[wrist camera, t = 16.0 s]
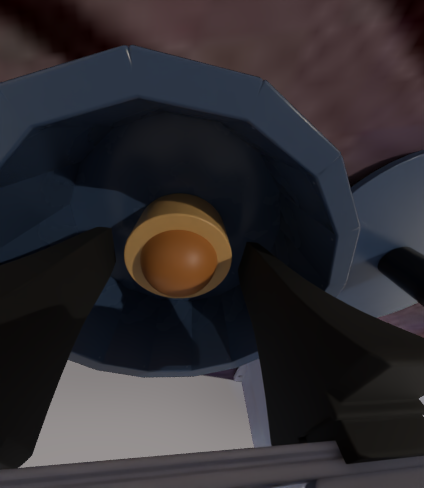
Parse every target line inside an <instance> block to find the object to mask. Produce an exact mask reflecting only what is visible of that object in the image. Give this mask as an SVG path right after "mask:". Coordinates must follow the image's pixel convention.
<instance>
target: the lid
mask: <svg viewBox="0 0 424 488" xmlns="http://www.w3.org/2000/svg"><path fill="white" fill-rule="evenodd" d="M351 191H352V195H353V199H354V203H355V207H356V210H357V214H358V218H359V222H360V233H359V237H358V241H357V245H356V249H355V252H354V256H353V260H352V264H351V268H350V272H349V276H348V280H347V283H346V285H345V286H344V288H343V289H342V290H341V292H340V293H339V294H338V295H337V297H336V298H337V299H339V300H341V301H343V302H345V303H347V304H348V305H350V306H352V307H354V308H356V309H358V310H360V311H362V312H365V313H367V314H369V315H371V316H373V317H375V318H377V317H381V316H384V315H387V314H391V313H393V312H396V311H399V310H402V309H404V308H406V307H409V306H411V305H413V304H415V303H417V302H419V303H420V304H421V305H422V306H424V150H421V151H418V152H415V153H412V154H409V155H407V156H405V157H402V158H400V159H398V160H395V161H393V162H391V163H389V164H387V165H385V166H384V167H382V168H380V169H378V170H376V171H374V172H373V173H371V174H370V175H368V176H367V177H365V178H364V179H362V180H361V181H359V182H357V183H356V184H355V185H353V186H352V187H351Z"/></svg>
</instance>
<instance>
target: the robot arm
mask: <svg viewBox="0 0 424 488" xmlns="http://www.w3.org/2000/svg"><path fill="white" fill-rule="evenodd" d="M115 263H116V256H115V249H114V241H113V234H112V228H107V227H95V228H93V229H90V230H88V231H85V232H83V233H81V234H79V235H76V236H74V237H72V238H70V239H67V240H65V241H63V242H61V243H58V244H56V245H54V246H51V247H49V248H46V249H44V250H41V251H39V252H36V253H34V254H31V255H29V256H26V257H23V258H21V259H18V260H15V261H12V262H9V263H6V264H3V265H0V488H424V417H423V415H424V405H423V404H422V402H421V401H420V400H419V399H418V398H420V397H422V396H424V338H423V337H420V336H418V335H416V334H413V333H411V332H408V331H406V330H403V329H401V328H398V327H396V326H394V325H391V324H389V323H386V322H384V321H382V320H380V319H378V318H375V317H373V316H371V315H369V314H367V313H365V312H362V311H360V310H358V309H356V308H354V307H352V306H350V305H348V304H347V303H345V302H343V301H341V300H339V299H337V298H335V297H334V296H332V295H330V294H328V293H327V292H325V291H323V290H322V289H320V288H318V287H317V286H315V285H314V284H312V283H310V282H309V281H307V280H306V279H304V278H303V277H302V276H300V275H299V274H297V273H296V272H295V271H293V270H292V269H291V268H289V267H288V266H287V265H285V264H284V263H283V262H282V261H280V260H279V259H278V258H277V257H275V256H274V255H273V254H272V253H270V252H269V251H268V250H267V249H265V248H264V247H263V246H261V245H260V244H258V243H254V242H247V243H246V246H245V249H244V252H243V255H242V259H241V262H240V265H239V268H238V275H239V281H240V286H241V290H242V293H243V297H244V300H245V303H246V306H247V309H248V313H249V316H250V319H251V322H252V326H253V330H254V334H255V339H256V344H257V349H258V355H259V359H257V360H254V361H252V362H250V363H247V364H245V365H242V366H240V367H238V369H237V371H236V373H235V375H234V381H242V386H243V391H244V397H245V402H246V407H247V413H248V418H249V423H250V429H251V434H252V440H253V444H254V448H244V449H233V450H222V451H210V452H198V453H188V454H175V455H164V456H153V457H141V458H129V459H118V460H106V461H95V462H83V463H72V464H60V465H49V466H37V467H26V468H18V467H20V466H21V465H22V464H23V463H24V462H25V461H27V460H28V458H30V457H31V456H32V454H33V451H34V448H35V445H36V442H37V439H38V436H39V434H40V431H41V428H42V425H43V423H44V420H45V417H46V414H47V411H48V409H49V406H50V403H51V401H52V398H53V395H54V393H55V390H56V388H57V385H58V382H59V380H60V377H61V375H62V372H63V370H64V367H65V365H66V362H67V360H68V358H69V355H70V353H71V351H72V348H73V346H74V344H75V342H76V339H77V337H78V335H79V333H80V330H81V328H82V326H83V324H84V322H85V320H86V318H87V317H88V315H89V313H90V311H91V310H92V308H93V306H94V304H95V303H96V301H97V299H98V298H99V296H100V294H101V292H102V291H103V289H104V287H105V285H106V283H107V282H108V280H109V278H110V276H111V273H112V271H113V268H114V265H115Z"/></svg>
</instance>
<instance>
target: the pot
mask: <svg viewBox="0 0 424 488" xmlns="http://www.w3.org/2000/svg"><path fill="white" fill-rule="evenodd" d="M176 193H183V194H190V195H194V196H197V197H200V198H202V199H204V200H205V201H207V202H208V203H210V204H211V205H212V206H213V207H214V208H215V209H216V210H217V211H218V213H219V214H220V216H221V218H222V221H223V224H224V227H225V230H226V234H227V237H228V240H229V244H230V247H231V251H232V262H231V267H230V269H229V272H228V274H227V276H226V277H225V278H224V280H223V281H222V282H221V283H220V284H219V285H218V286H217V287H215V288H214V289H212V290H211V291H209V292H207V293H205V294H202V295H199V296H196V297H191V298H168V297H163V296H160V295H157V294H154V293H152V292H150V291H148V290H146V289H145V288H143V287H142V286H140V285H139V284H138V283H137V282H136V281H135V280H134V279H133V278H132V276H131V275H130V274H129V272H128V270H127V267H126V265H125V260H124V248H125V244H126V241H127V239H128V237H129V235H130V234H131V232H132V230H133V228H134V227H135V225H136V223H137V221H138V220H139V218H140V216H141V215H142V213H143V211H144V210H145V209H146V207H147V206H148V205H149V204H150V203H152V202H153V201H154V200H156V199H158V198H160V197H162V196H165V195H169V194H176ZM95 227H107V228H112V234H113V241H114V249H115V256H116V263H115V265H114V268H113V271H112V273H111V276H110V278H109V280H108V282H107V283H106V285H105V287H104V289H103V291H102V292H101V294H100V296H99V298H98V299H97V301H96V303H95V304H94V306H93V308H92V310H91V311H90V313H89V315H88V317H87V318H86V320H85V322H84V324H83V326H82V328H81V330H80V333H79V335H78V337H77V339H76V342H75V344H74V346H73V348H72V351H71V353H70V355H69V358H68V360H70V361H73V362H76V363H79V364H81V365H84V366H87V367H89V368H92V369H95V370H99V371H106V372H112V373H118V374H125V375H131V376H138V377H144V378H145V377H189V376H190V377H191V376H199V375H204V374H209V373H214V372H219V371H224V370H229V369H234V368H237V367H240V366H242V365H245V364H247V363H250V362H252V361H254V360H257V359H259V355H258V349H257V344H256V339H255V334H254V330H253V326H252V322H251V319H250V316H249V313H248V309H247V306H246V303H245V300H244V297H243V293H242V290H241V286H240V281H239V275H238V268H239V265H240V262H241V259H242V255H243V252H244V249H245V246H246V243H247V242H254V243H258V244H260V245H261V246H263V247H264V248H265V249H267V250H268V251H269V252H270V253H272V254H273V255H274V256H275V257H277V258H278V259H279V260H280V261H282V262H283V263H284V264H285V265H287V266H288V267H289V268H291V269H292V270H293V271H295V272H296V273H297V274H299V275H300V276H302V277H303V278H304V279H306V280H307V281H309V282H310V283H312V284H314V285H315V286H317V287H318V288H320V289H322V290H323V291H325V292H327V293H328V294H330V295H332V296H334V297H335V298H336V297H337V295H338V294H339V293H340V292H341V290H342V289H343V288H344V286H345V285H346V283H347V280H348V276H349V272H350V268H351V264H352V260H353V256H354V252H355V249H356V245H357V241H358V237H359V233H360V222H359V218H358V214H357V210H356V207H355V203H354V199H353V195H352V191H351V188H350V184H349V180H348V176H347V172H346V168H345V165H344V161H343V157H342V156H341V152H340V151H339V150H338V149H337V148H336V147H335V146H334V145H333V144H332V143H331V142H330V141H329V140H328V139H326V138H325V137H324V136H323V135H322V134H321V133H320V132H319V131H318V130H317V129H316V128H315V127H314V126H313V125H312V124H311V123H310V122H309V121H308V120H307V119H306V118H305V117H304V116H303V115H302V114H301V113H300V112H299V111H298V110H297V109H296V108H295V107H293V106H292V105H291V104H290V103H289V102H288V101H287V100H286V99H285V98H284V97H283V96H282V95H281V94H280V93H279V92H278V91H277V90H276V89H275V88H274V87H273V86H272V85H271V84H270V83H269V82H268V81H267V80H262V79H261V78H260V77H257V76H253V75H249V74H245V73H241V72H237V71H233V70H230V69H226V68H222V67H218V66H214V65H210V64H206V63H202V62H198V61H194V60H190V59H186V58H183V57H179V56H175V55H171V54H167V53H163V52H159V51H155V50H151V49H147V48H143V47H140V46H136V45H131V46H129V47H128V46H126V45H122V46H118V47H115V48H112V49H109V50H105V51H102V52H99V53H96V54H92V55H89V56H86V57H82V58H79V59H76V60H73V61H69V62H66V63H63V64H60V65H56V66H53V67H50V68H46V69H43V70H40V71H37V72H33V73H30V74H27V75H24V76H20V77H17V78H14V79H10V80H7V81H4V82H1V83H0V265H3V264H6V263H9V262H12V261H15V260H18V259H21V258H23V257H26V256H29V255H31V254H34V253H36V252H39V251H41V250H44V249H46V248H49V247H51V246H54V245H56V244H58V243H61V242H63V241H65V240H67V239H70V238H72V237H74V236H76V235H79V234H81V233H83V232H85V231H88V230H90V229H93V228H95Z"/></svg>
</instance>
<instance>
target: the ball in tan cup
mask: <svg viewBox="0 0 424 488" xmlns="http://www.w3.org/2000/svg"><path fill="white" fill-rule="evenodd" d="M124 260H125V265H126V267H127V270H128V272H129V274H130V275H131V276H132V278H133V279H134V280H135V281H136V282H137V283H138V284H139V285H140V286H142V287H143V288H145V289H146V290H148V291H150V292H152V293H154V294H157V295H160V296H163V297H168V298H191V297H196V296H199V295H202V294H205V293H207V292H209V291H211V290H212V289H214V288H215V287H217V286H218V285H219V284H220V283H221V282H222V281H223V280H224V278H225V277H226V276H227V274H228V272H229V269H230V267H231V262H232V251H231V247H230V244H229V240H228V237H227V234H226V230H225V227H224V224H223V221H222V218H221V216H220V214H219V213H218V211H217V210H216V209H215V208H214V207H213V206H212V205H211V204H210V203H208V202H207V201H205V200H204V199H202V198H200V197H197V196H194V195H190V194H183V193H176V194H169V195H165V196H162V197H160V198H158V199H156V200H154V201H153V202H152V203H150V204H149V205H148V206H147V207H146V209H145V210H144V211H143V213H142V215H141V216H140V218H139V220H138V221H137V223H136V225H135V227H134V228H133V230H132V232H131V234H130V235H129V237H128V239H127V241H126V244H125V248H124Z"/></svg>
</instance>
